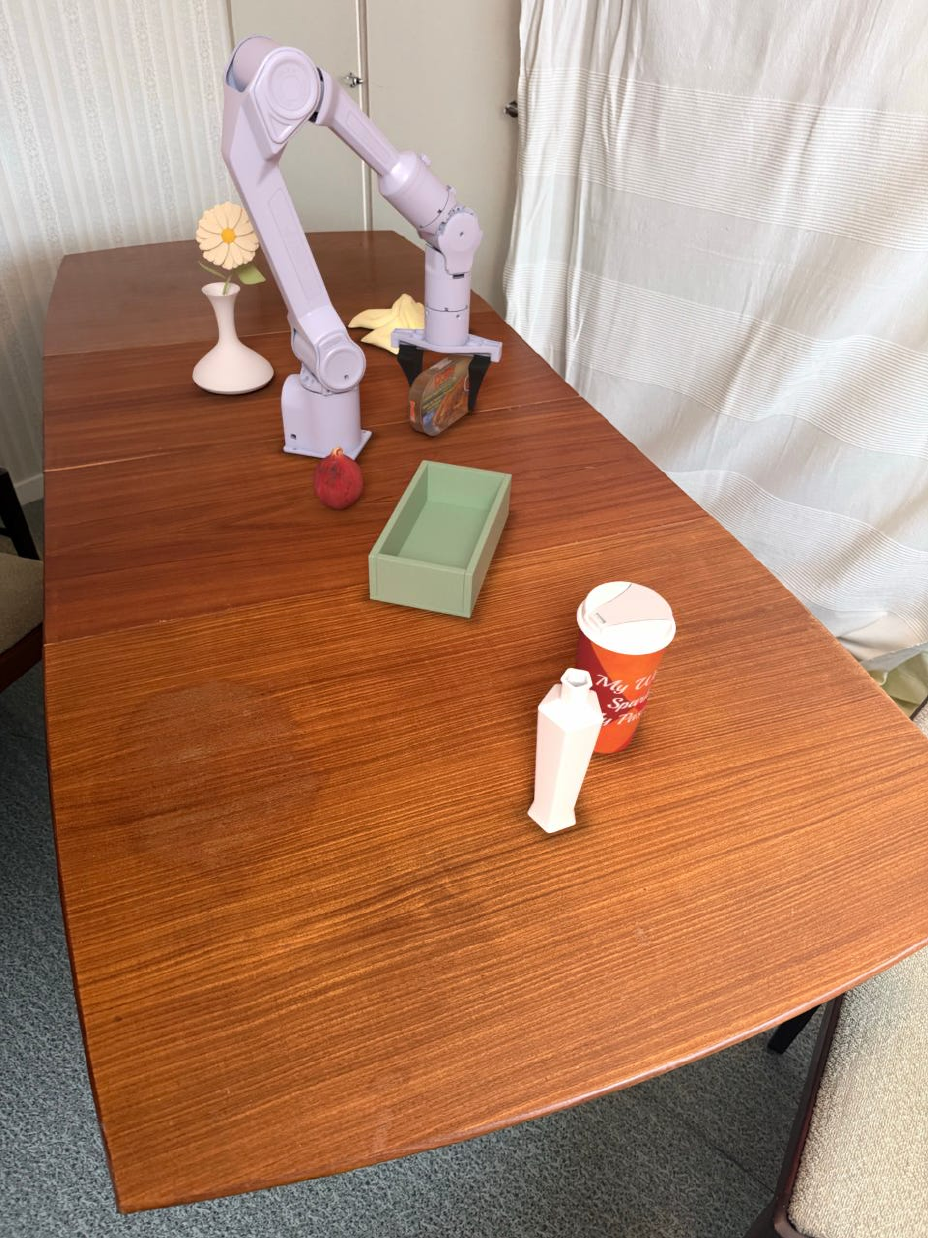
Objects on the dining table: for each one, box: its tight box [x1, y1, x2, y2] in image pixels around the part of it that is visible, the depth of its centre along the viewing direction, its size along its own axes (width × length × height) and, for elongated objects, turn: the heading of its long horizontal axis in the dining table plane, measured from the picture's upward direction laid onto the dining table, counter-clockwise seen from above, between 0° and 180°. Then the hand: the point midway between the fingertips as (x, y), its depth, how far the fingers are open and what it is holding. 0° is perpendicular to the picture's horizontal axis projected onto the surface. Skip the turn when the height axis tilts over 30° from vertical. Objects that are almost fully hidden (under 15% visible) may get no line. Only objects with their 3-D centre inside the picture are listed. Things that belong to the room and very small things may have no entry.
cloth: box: [347, 293, 425, 355], centre depth 137 cm, size 22×19×6 cm
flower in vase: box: [191, 201, 275, 395], centre depth 113 cm, size 13×11×25 cm
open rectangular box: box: [367, 459, 513, 619], centre depth 90 cm, size 11×20×6 cm, turn 166°
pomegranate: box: [312, 446, 365, 511], centre depth 95 cm, size 6×6×8 cm
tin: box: [407, 353, 473, 437], centre depth 113 cm, size 15×3×8 cm, turn 148°
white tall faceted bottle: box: [526, 667, 603, 834], centre depth 61 cm, size 5×4×15 cm
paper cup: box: [574, 581, 677, 754], centre depth 69 cm, size 8×8×14 cm
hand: (444, 403), depth 114 cm, fingers open, 7 cm apart
